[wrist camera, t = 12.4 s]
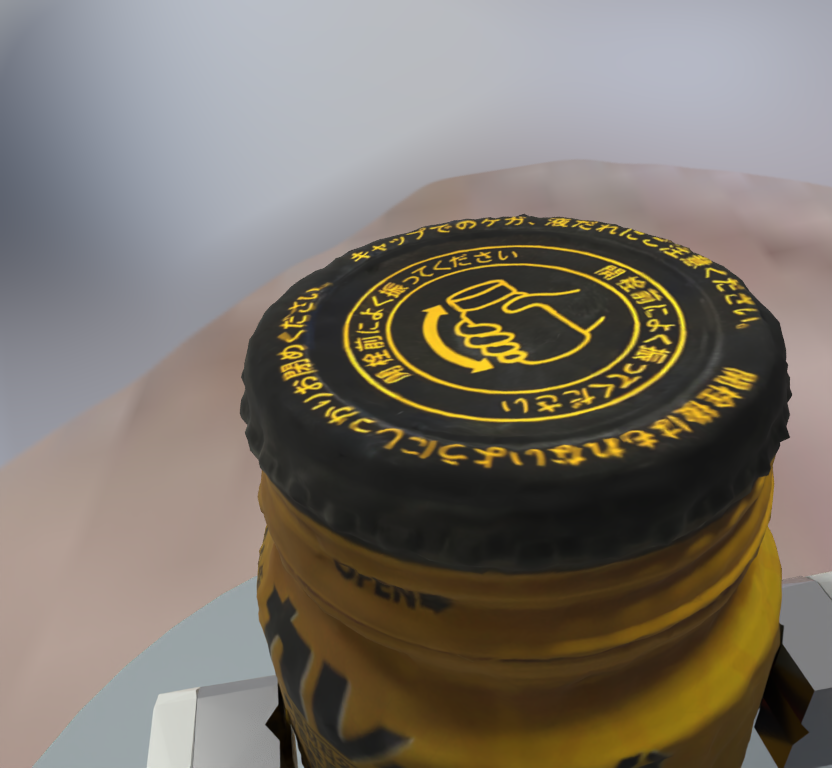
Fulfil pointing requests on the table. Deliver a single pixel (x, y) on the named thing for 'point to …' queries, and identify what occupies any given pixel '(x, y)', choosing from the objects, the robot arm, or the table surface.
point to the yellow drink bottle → (519, 500)
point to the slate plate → (192, 686)
